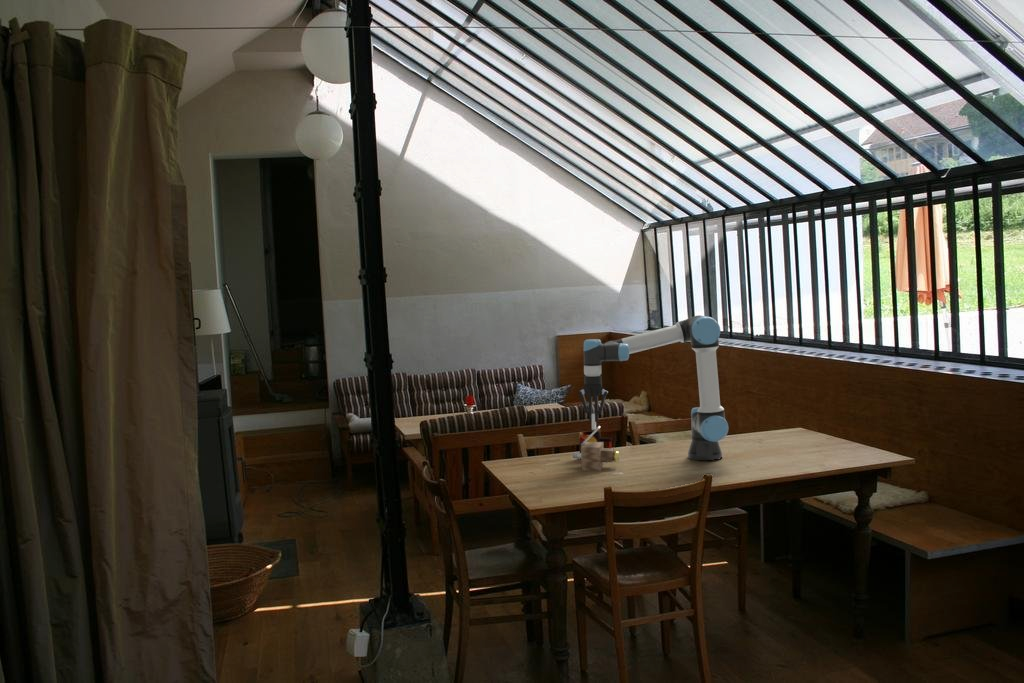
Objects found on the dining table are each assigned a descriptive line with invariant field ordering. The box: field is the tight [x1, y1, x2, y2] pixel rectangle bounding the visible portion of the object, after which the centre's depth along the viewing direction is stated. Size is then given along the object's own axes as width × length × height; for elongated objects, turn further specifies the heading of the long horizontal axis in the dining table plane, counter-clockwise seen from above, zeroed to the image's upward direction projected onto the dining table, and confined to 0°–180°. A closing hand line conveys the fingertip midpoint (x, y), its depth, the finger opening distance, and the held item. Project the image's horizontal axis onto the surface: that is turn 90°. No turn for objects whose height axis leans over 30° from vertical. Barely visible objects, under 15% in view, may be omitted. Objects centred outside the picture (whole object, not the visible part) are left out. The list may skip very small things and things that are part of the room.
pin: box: [572, 450, 620, 463], centre depth 366 cm, size 20×5×5 cm, turn 75°
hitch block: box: [580, 441, 615, 472], centre depth 365 cm, size 14×12×11 cm
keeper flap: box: [583, 425, 601, 445], centre depth 365 cm, size 10×4×1 cm
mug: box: [578, 430, 612, 461], centre depth 384 cm, size 10×14×12 cm
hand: (593, 429), depth 365 cm, fingers closed
